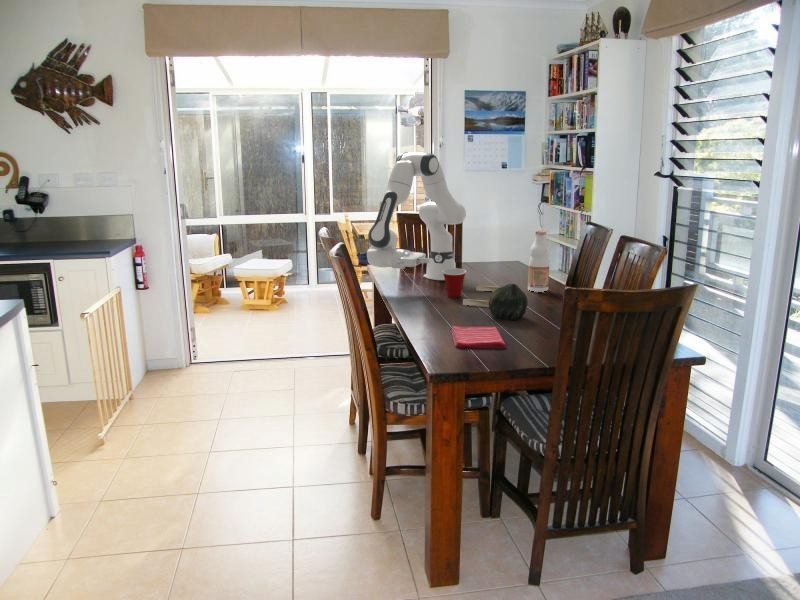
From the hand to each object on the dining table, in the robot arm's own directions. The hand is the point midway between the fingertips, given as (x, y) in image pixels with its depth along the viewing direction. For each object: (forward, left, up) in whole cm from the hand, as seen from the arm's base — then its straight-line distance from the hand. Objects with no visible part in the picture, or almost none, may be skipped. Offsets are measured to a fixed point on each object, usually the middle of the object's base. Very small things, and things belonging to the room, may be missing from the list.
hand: (430, 260), depth 290 cm
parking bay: (0, +28, -16) cm, 32 cm away
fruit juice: (-24, +46, -16) cm, 55 cm away
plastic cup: (0, +11, -16) cm, 20 cm away
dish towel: (+63, +34, -17) cm, 73 cm away
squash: (+31, +40, -16) cm, 53 cm away
